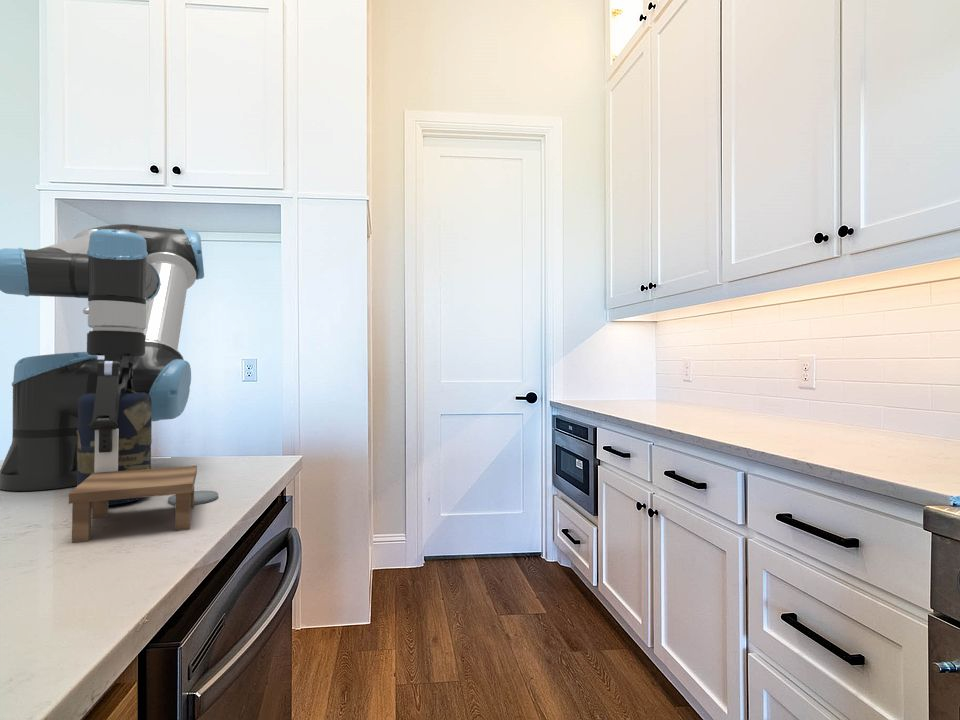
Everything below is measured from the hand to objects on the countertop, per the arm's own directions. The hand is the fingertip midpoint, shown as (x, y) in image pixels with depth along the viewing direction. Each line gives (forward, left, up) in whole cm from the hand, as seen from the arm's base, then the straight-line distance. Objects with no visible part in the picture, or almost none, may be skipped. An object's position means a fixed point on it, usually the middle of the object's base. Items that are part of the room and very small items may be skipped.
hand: (114, 466), depth 81 cm
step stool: (+14, +5, -5) cm, 16 cm away
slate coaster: (+4, +11, -5) cm, 13 cm away
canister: (0, 0, -6) cm, 6 cm away
